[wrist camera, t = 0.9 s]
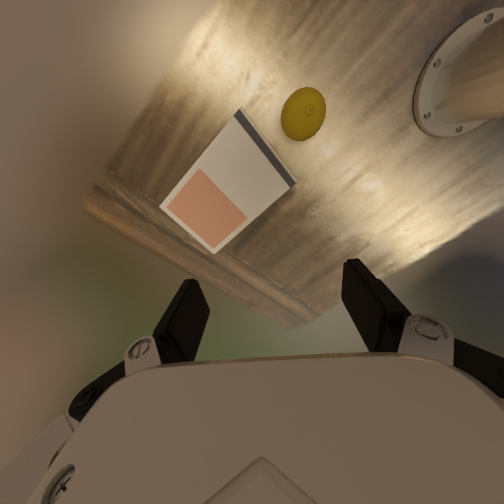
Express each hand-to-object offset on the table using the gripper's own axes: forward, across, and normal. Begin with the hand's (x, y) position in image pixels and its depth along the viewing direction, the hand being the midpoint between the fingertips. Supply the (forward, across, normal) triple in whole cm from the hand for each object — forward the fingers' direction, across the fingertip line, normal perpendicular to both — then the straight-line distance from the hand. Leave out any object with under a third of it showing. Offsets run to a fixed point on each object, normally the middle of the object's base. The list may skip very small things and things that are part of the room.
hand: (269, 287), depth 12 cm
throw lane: (+24, +7, -2) cm, 26 cm away
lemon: (+25, -6, -11) cm, 28 cm away
